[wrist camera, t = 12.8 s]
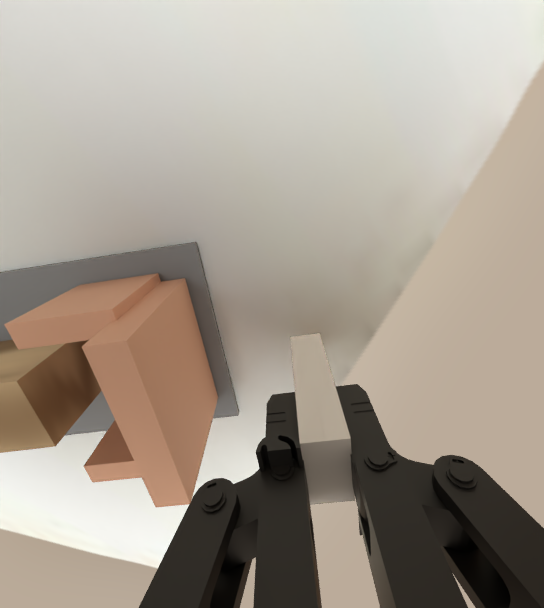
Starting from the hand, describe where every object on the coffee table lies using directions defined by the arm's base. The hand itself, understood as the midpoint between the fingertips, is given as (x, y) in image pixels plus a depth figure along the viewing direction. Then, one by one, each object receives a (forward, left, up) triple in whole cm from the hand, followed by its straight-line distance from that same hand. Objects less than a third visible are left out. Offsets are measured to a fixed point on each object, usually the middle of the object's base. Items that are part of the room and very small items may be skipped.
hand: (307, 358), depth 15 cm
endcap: (0, -9, -3) cm, 10 cm away
